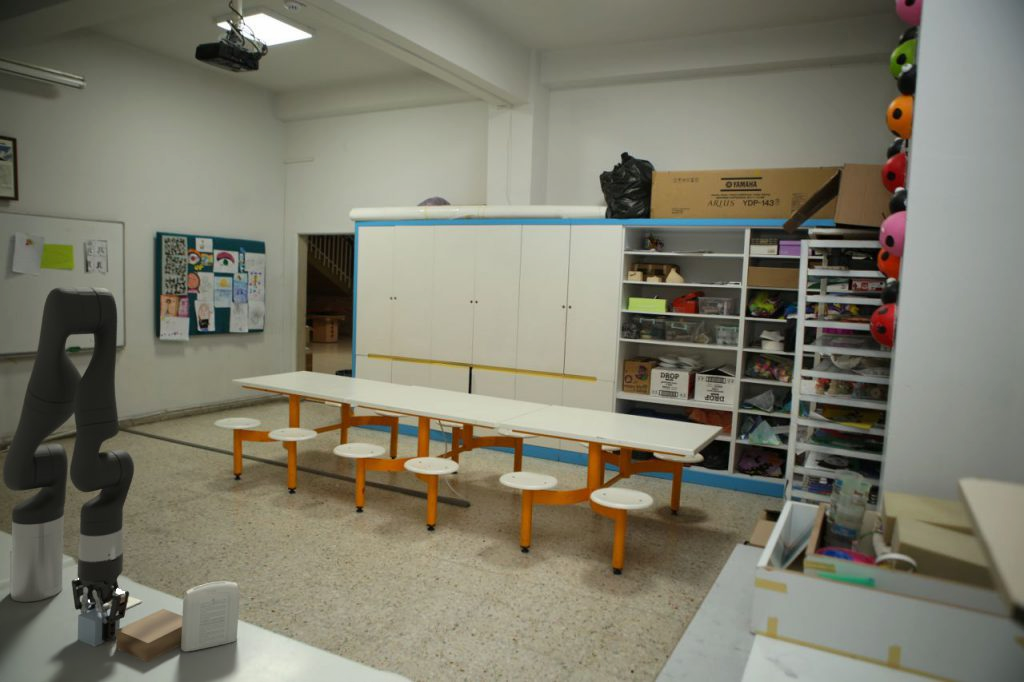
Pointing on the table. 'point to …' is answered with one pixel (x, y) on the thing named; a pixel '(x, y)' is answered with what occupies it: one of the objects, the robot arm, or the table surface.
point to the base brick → (151, 635)
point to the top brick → (92, 627)
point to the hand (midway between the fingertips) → (98, 634)
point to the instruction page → (129, 602)
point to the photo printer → (210, 615)
